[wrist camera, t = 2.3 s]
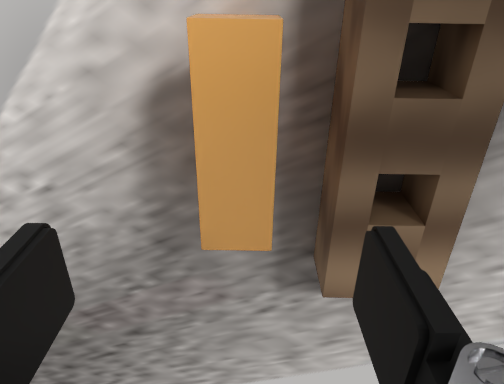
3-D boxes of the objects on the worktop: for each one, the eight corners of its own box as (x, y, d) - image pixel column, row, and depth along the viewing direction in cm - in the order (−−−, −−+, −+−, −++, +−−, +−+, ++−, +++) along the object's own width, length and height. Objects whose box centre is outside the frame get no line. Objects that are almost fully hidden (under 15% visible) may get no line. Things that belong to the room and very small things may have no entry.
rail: (359, -121, 18) (388, -151, 14) (518, -118, 18) (590, -148, 14) (313, 257, 30) (322, 297, 26) (411, 258, 30) (434, 299, 26)
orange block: (206, 10, 21) (186, 17, 15) (275, 11, 21) (283, 19, 15) (213, 191, 27) (201, 249, 21) (267, 192, 27) (271, 250, 21)
